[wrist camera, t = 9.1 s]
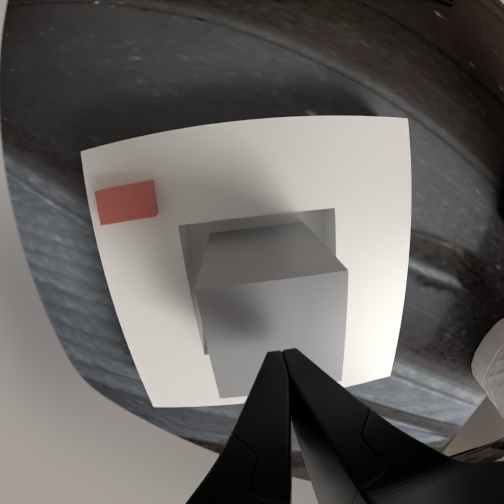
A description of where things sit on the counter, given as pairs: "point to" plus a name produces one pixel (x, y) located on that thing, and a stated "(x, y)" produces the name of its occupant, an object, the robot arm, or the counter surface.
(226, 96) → the counter surface
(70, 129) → the counter surface
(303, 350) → the plug
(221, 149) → the socket plate
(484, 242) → the counter surface
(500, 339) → the white cup
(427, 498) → the robot arm
